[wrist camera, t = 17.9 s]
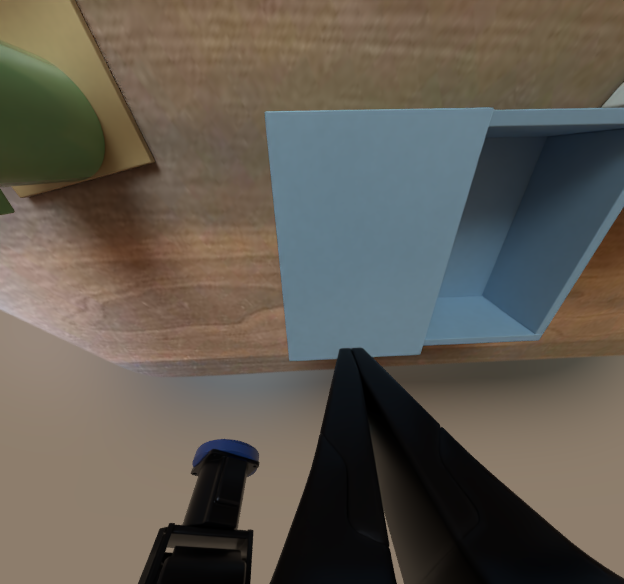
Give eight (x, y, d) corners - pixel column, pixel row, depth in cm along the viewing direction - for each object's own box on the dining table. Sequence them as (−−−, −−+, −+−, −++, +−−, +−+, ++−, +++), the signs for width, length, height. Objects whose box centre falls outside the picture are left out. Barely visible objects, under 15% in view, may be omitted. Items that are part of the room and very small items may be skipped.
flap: (289, 356, 13) (289, 361, 12) (266, 113, 7) (264, 111, 7) (417, 350, 13) (420, 355, 13) (486, 109, 7) (494, 107, 7)
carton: (291, 305, 17) (288, 352, 13) (277, 131, 12) (264, 114, 8) (481, 297, 18) (539, 340, 13) (552, 126, 12) (688, 106, 8)
